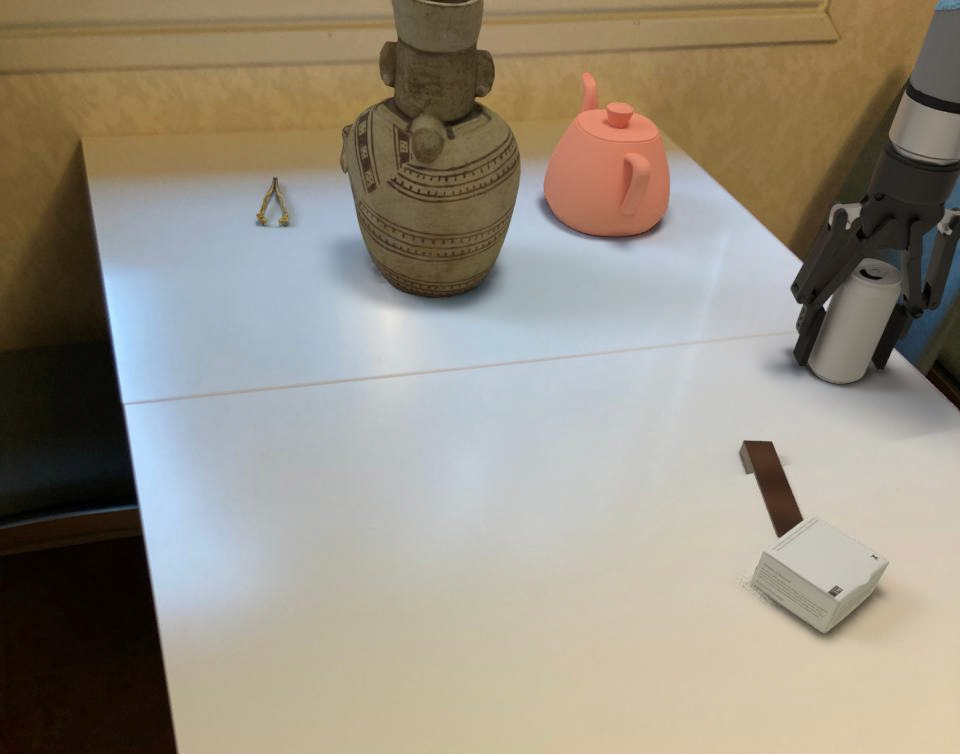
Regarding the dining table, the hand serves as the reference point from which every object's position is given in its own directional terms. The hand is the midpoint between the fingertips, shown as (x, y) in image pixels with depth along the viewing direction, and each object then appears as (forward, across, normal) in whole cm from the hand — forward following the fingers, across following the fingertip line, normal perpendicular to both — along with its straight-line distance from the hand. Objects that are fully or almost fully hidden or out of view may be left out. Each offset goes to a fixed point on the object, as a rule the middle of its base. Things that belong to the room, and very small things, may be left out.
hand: (838, 361), depth 104 cm
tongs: (+2, +66, -34) cm, 74 cm away
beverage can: (+2, 0, 0) cm, 2 cm away
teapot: (+2, +22, -38) cm, 44 cm away
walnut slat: (+1, +13, +22) cm, 26 cm away
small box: (+2, +13, +36) cm, 38 cm away
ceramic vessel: (+2, +46, -18) cm, 49 cm away
